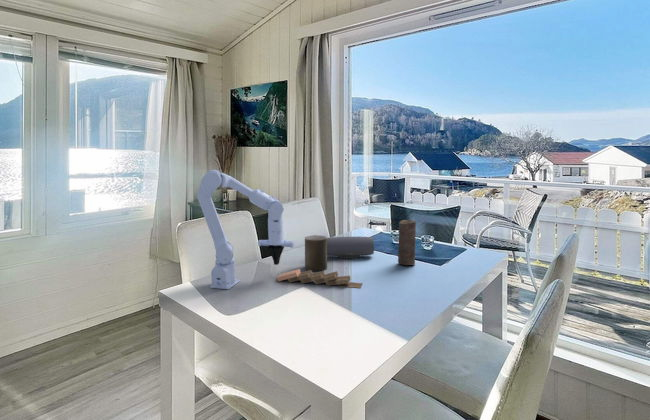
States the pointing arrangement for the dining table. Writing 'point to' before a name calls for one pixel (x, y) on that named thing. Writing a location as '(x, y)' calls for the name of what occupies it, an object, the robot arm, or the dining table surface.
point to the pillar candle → (316, 253)
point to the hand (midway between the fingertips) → (276, 263)
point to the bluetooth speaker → (350, 246)
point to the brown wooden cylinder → (407, 242)
